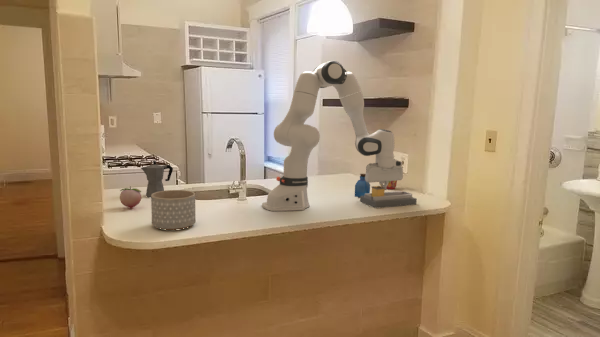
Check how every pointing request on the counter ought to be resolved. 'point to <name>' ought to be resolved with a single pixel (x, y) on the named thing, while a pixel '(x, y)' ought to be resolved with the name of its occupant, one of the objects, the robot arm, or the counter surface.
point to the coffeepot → (155, 177)
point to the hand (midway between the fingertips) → (383, 190)
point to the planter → (173, 209)
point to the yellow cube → (377, 191)
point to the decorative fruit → (130, 197)
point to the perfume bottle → (362, 186)
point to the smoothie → (391, 185)
